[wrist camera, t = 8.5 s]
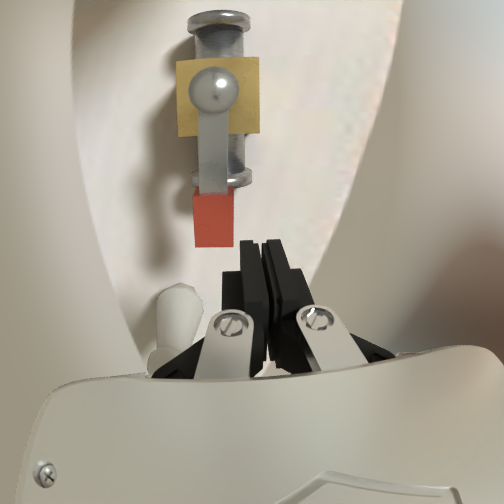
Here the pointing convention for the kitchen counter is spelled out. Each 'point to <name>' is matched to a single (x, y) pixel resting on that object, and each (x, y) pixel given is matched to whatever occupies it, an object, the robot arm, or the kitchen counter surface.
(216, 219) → the valve lever
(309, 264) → the kitchen counter surface
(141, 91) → the kitchen counter surface
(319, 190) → the kitchen counter surface
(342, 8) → the kitchen counter surface
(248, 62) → the valve pipe
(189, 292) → the salt shaker
